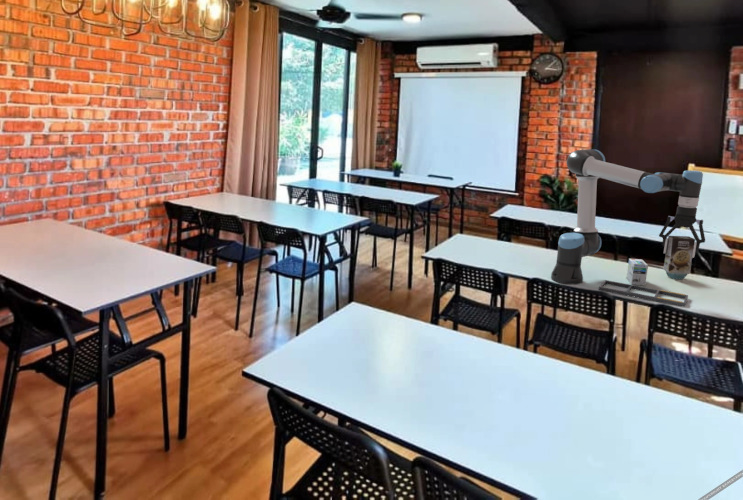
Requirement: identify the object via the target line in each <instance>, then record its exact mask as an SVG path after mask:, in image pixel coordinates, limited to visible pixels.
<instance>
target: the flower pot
mask: <svg viewBox="0 0 743 500" xmlns="http://www.w3.org/2000/svg"><path fill="white" fill-rule="evenodd" d="M691 266H692V263H691ZM665 274H666V276H667V277H668V278H670V279H672V280H683V279H685V278H686V277H687V276H688V274H679V273H668V272H666V271H665Z"/></svg>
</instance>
